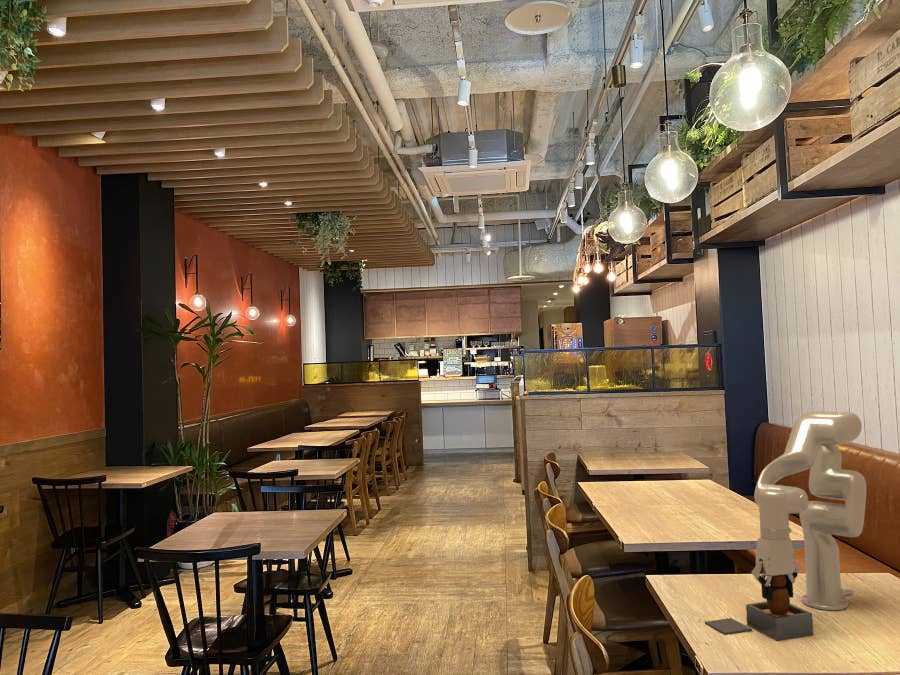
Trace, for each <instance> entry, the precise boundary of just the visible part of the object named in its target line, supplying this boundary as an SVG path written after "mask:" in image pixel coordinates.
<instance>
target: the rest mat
mask: <svg viewBox="0 0 900 675" xmlns="http://www.w3.org/2000/svg"><path fill="white" fill-rule="evenodd" d="M704 625H706V626H707V627H709V628H711V627H712V628H711V629H713V628H714V629H713V630H715V631H717V632H718V631H719V633H720V632H721V633H720V634H722V633H723V634H722V635H723V636H728V634H729V635H735V634H740V633H741V634H742V633H746V632H747V633H748V632H749V633H750V632H753V628H751V627H749V626H747V624H746V625H745V624H744V623H742V622H740V621H737V620H736V619H735V618H732V617H730V618H723V619H722V618H721V619H715V620H709V621H707V620H706V621H704Z"/></svg>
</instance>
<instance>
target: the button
mask: <svg viewBox="0 0 900 675" xmlns="http://www.w3.org/2000/svg"><path fill="white" fill-rule="evenodd" d="M763 611H765V612H767V613H769V614H771V615H774V616H776V617H778V616H785V615H792V614H793V613H791V612H789V611H788V612H787V614H785V615H777V614H774V613H772V612H771V611H770V610H769V609H766V610H763Z"/></svg>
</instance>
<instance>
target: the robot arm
mask: <svg viewBox="0 0 900 675" xmlns="http://www.w3.org/2000/svg"><path fill="white" fill-rule="evenodd" d="M862 427H863V426H862V421H861V418H860V417H859V416H858V415H857V414H856V413H854V412H844V411H842V412H841V411H810V412H806V413H804V414H803V415H802V416H801V417H799V418H797V419H796V420H795V421H794V423H793V426H792V428H791V432H790V435H789V438H788V440H787V443H786V446H785V449H784V452H783V454H781V455H780V456H778V457H777V458H775V459H774V460H772V461H771V462H770V463H769V464H767V465H766V466H765V467H764V468H763V470H762V471H761V472H760V475H759V477H758V479H757V481H756V485H755V488H754V494H753V497H754V502H755V504H756V505H757V507H758V508H759V509H758V512H759V526H760V528H759V529H760V531H759V532H760V537H758V539H757V540H756V548H755V566H754V568H753V569H752V571H751V574H752V576H754V578H755V579H756V580H757V581H758V583H759V584H760V585H761V598H763V599H765V600H766V601H767V600H769V601H770V600H772V591H771V586H769V585H770V581H771V578H772V576H779V575H785V578H786V585H785V586H784V587H785V588H786V589H787V590H788V593H789V598H792V599H793V598H794V583H795V582H796V578H797V577H798V575H799V572H800V571H801V570H802V567H801V566H800V565H799V564H798V563H797V562H796V558H795V550H794V545H793V541H792V538H790V534H791V533H792V529H791V528H790V521H789V520H790V519H789V518H790V515H789V514H799V520H800V524H801V527H802V528H801V529H802V534H803V542H804V544H803V545H804V560H805V562H804V564H805V579H806V580H805V581H806V582H805V583H806V594H804V595H802V596H801V602H802V603H803V604H804V605H806V606H808V607H811V608H814V609H818V610H824V611H841V610H845V608H846V609H847V608H848V606H849V605H848V602H847V600H846V599H845V598H846V597H852V596H854V594H855V592H854V591H853V589H851V588H849V589H843V588H842V583H841V580H842V579H841V565H840V548H839V545H838V543H837V541H836V540H835V538H834V537H833V535H835V536H841V537H846V538H857V537H859V536H861V534H862V533H863V529H864V523H865V513H866V503H867V482H866V479H865V476H864V475H863V474H862V473H860V472H859V471H857V470H854V469H853V470H851V469H842V462H843V456H842V455H843V454H842V452H841V450H840V449H839V447H838V446H841V445H845V444H847V443H850V442H853V441H855V440H857V439H858V438H859V436H860V434H861V432H862ZM806 470H809V475H808V476H809V478H808V479H809V480H808V489H809V492H810V494H811V495H813V496H815V497H817V498H823V499H829V500H838V501H844V502H845V504H843V503H835V502H829V501H821V500H820V501H819V500H809V496H808V494H807V492H806V491H805V490H804V489H802V488H800V487H797V486H787V485H781V484H776V483H777V482H778V481H780V480H781V479H782V478H785V477H787V476H790V475H794V474H798V473H800V472H804V471H806ZM760 573H761V574H760Z"/></svg>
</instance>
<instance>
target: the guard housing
mask: <svg viewBox="0 0 900 675" xmlns="http://www.w3.org/2000/svg"><path fill="white" fill-rule="evenodd" d="M745 606H746V607H745V610H746V611H745V613H746V626H747V627H749V628H751V629H752V630H755V631H757V632H759V633H761V634H762V635H764V636H767V637H769V638H770V639H772V640H775V641H776V642H779V641H785V640H792V639H796V638H797V639H798V638H803V637H810V636H814V626H813V625H814V623H813V613H812V612H810V611H807V610H806V609H803V608H801V607H799V606H796V605H794V604H792V603H790V606H789V610H788V611H789V612H791V613H793V614H792V615H785V616H778V617H776V616H774V615H771V614H769V613H767V612H765V611H763V610H766V609H769V607H768V604H767V601H760V602H754V603H746V604H745Z"/></svg>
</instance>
